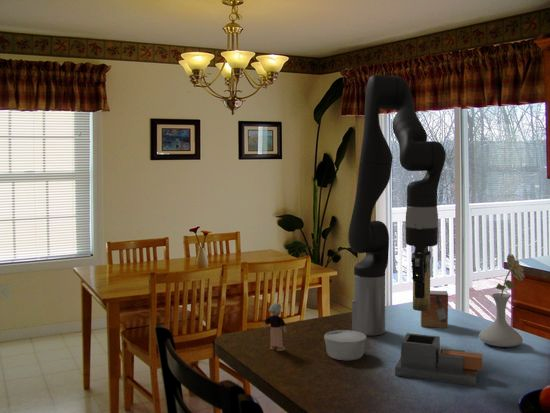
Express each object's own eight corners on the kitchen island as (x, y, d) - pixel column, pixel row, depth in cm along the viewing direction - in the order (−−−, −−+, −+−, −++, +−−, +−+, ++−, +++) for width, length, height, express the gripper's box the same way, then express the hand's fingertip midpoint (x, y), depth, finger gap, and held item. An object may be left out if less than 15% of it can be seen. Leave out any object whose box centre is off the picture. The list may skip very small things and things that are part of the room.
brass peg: (411, 310, 135) (411, 268, 135) (414, 306, 139) (414, 266, 138) (428, 311, 134) (429, 269, 133) (430, 307, 137) (431, 267, 137)
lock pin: (441, 365, 134) (441, 353, 134) (442, 361, 137) (442, 349, 136) (481, 370, 130) (481, 358, 130) (482, 366, 133) (482, 354, 133)
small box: (420, 327, 174) (421, 293, 173) (420, 322, 179) (420, 289, 179) (448, 328, 172) (448, 294, 171) (446, 323, 178) (447, 290, 177)
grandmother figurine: (291, 348, 154) (291, 302, 154) (285, 352, 151) (285, 305, 150) (266, 344, 158) (265, 300, 157) (260, 348, 154) (259, 303, 153)
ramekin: (341, 345, 157) (341, 327, 156) (375, 355, 149) (375, 335, 148) (315, 355, 149) (315, 335, 148) (348, 365, 141) (349, 344, 141)
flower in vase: (502, 353, 149) (504, 259, 147) (469, 341, 159) (470, 253, 157) (536, 345, 155) (538, 255, 153) (502, 335, 165) (503, 250, 163)
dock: (395, 375, 134) (395, 344, 133) (404, 359, 145) (404, 330, 144) (475, 386, 127) (476, 353, 126) (478, 368, 138) (479, 338, 137)
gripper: (410, 222, 143) (410, 289, 144) (400, 227, 130) (400, 301, 131) (441, 222, 140) (440, 291, 141) (434, 228, 127) (433, 304, 128)
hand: (421, 295), depth 136 cm, fingers closed on brass peg, 4 cm apart
